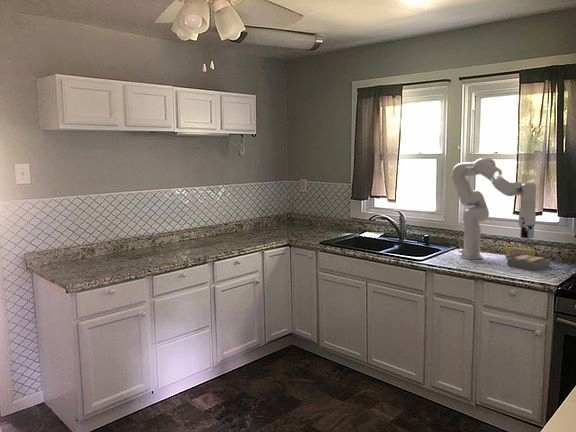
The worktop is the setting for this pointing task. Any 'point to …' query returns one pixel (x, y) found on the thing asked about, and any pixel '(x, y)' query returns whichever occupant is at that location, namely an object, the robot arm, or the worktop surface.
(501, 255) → the worktop surface
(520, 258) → the maple block
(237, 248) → the worktop surface
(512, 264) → the tote
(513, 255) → the candy box
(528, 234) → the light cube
